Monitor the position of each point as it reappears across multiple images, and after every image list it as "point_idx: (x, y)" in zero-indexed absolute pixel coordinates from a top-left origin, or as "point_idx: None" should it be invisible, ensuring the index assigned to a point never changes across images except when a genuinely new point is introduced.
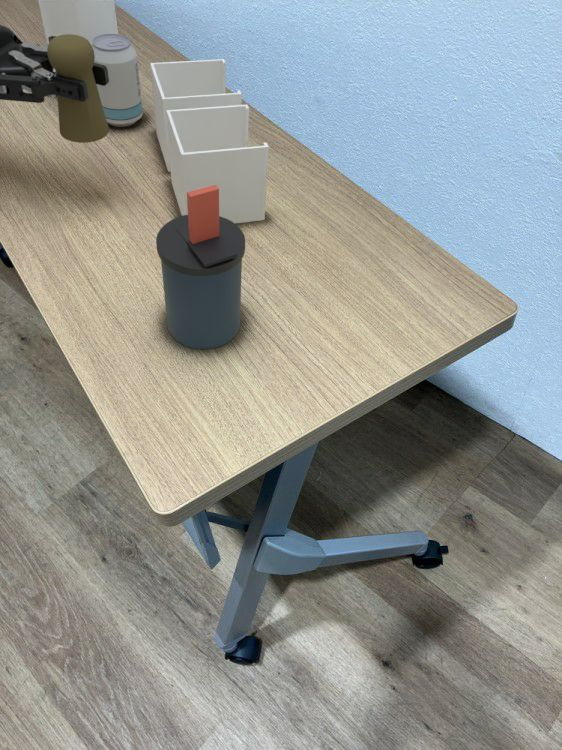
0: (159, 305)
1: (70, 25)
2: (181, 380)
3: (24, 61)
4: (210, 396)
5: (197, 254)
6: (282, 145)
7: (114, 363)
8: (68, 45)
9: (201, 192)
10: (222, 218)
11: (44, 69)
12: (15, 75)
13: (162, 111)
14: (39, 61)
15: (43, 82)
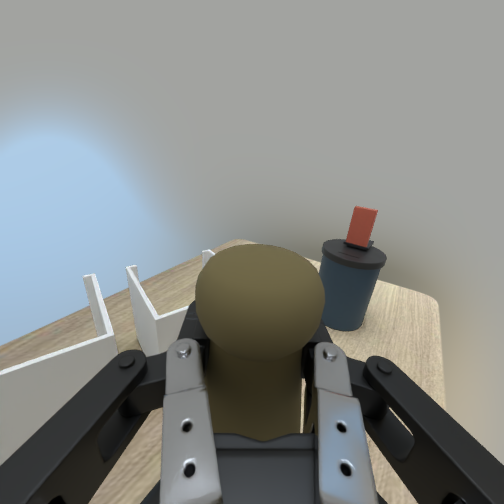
0: (346, 340)
1: None
2: (381, 311)
3: (356, 456)
4: (374, 299)
5: (371, 244)
6: (64, 324)
7: (413, 344)
8: (290, 253)
9: (368, 208)
10: (324, 247)
11: (316, 378)
12: (438, 442)
13: (102, 362)
14: (267, 448)
15: (354, 365)
